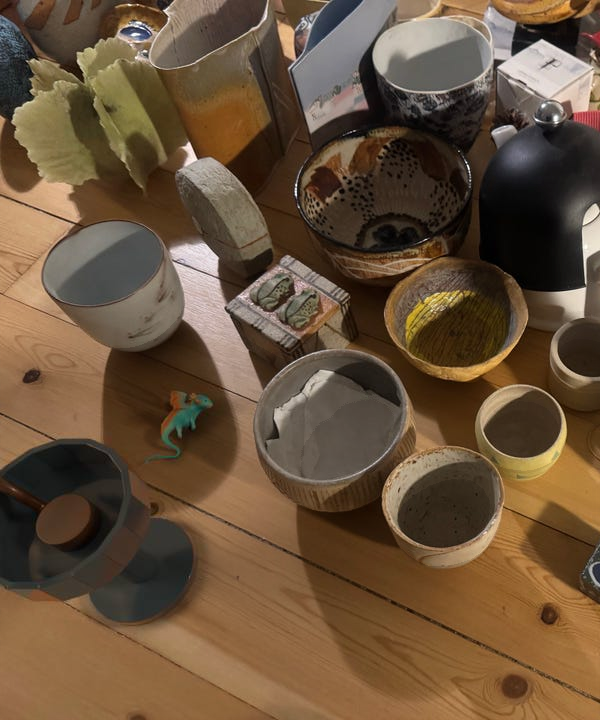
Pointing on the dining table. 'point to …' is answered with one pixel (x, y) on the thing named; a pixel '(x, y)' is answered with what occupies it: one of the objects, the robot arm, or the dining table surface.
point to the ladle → (60, 517)
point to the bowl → (109, 546)
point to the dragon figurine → (182, 416)
